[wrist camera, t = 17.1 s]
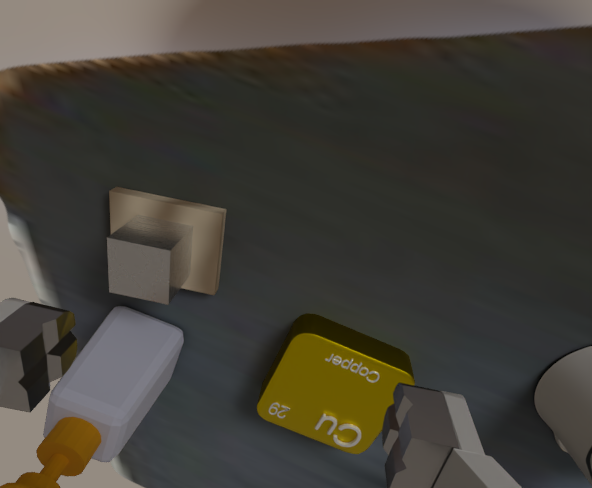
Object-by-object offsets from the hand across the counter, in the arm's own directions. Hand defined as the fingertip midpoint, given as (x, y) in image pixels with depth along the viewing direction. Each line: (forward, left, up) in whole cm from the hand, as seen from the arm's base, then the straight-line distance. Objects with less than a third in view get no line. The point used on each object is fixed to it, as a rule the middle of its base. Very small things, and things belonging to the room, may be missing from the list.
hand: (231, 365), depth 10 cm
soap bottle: (+17, +31, -31) cm, 47 cm away
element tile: (-8, +28, -32) cm, 43 cm away
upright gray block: (+14, +14, -30) cm, 36 cm away
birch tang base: (+14, +14, -31) cm, 37 cm away
